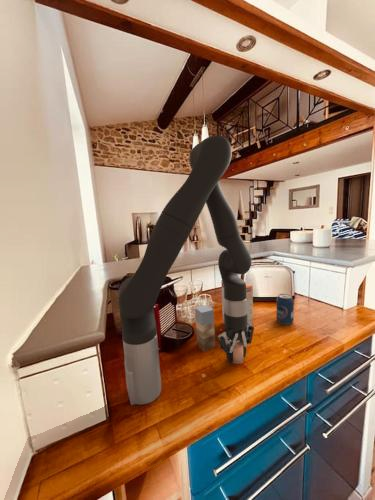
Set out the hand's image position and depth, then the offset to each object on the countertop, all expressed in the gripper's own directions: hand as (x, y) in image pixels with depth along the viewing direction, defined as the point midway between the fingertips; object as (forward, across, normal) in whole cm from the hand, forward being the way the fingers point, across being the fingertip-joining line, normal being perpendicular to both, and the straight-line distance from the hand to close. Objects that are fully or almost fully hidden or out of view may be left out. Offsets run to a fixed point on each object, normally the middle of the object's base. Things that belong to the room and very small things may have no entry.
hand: (236, 358), depth 72 cm
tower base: (+1, -5, +12) cm, 13 cm away
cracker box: (+1, +13, +16) cm, 21 cm away
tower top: (-9, -5, +12) cm, 16 cm away
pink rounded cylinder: (+1, 0, 0) cm, 1 cm away
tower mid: (-4, -5, +12) cm, 14 cm away
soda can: (+1, +35, +10) cm, 36 cm away
